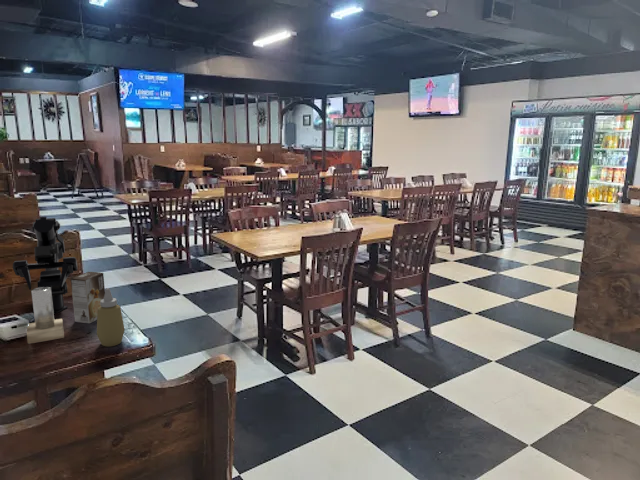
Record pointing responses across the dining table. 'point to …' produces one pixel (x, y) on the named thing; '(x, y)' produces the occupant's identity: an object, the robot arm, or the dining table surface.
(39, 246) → the robot arm
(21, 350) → the dining table surface
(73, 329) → the dining table surface
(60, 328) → the block
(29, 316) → the dining table surface
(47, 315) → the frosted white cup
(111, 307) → the squeeze bottle
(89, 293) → the coffee box
